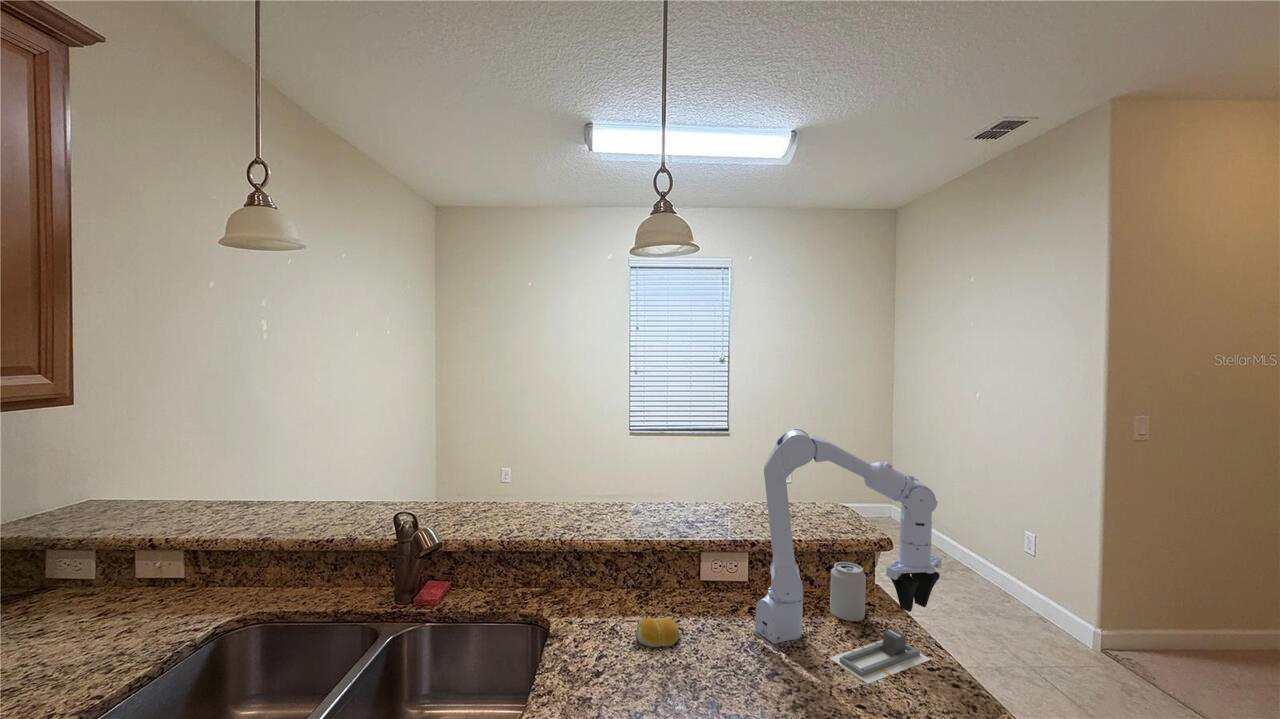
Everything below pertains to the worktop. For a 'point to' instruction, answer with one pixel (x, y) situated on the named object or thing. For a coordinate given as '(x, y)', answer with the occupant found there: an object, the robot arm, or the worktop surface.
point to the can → (848, 591)
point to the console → (878, 661)
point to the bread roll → (657, 632)
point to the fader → (893, 642)
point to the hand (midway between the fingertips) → (913, 607)
